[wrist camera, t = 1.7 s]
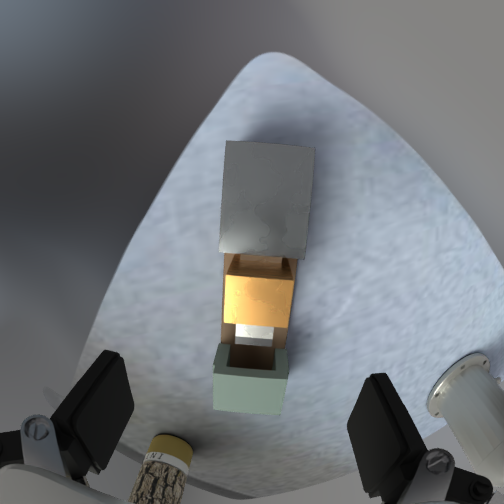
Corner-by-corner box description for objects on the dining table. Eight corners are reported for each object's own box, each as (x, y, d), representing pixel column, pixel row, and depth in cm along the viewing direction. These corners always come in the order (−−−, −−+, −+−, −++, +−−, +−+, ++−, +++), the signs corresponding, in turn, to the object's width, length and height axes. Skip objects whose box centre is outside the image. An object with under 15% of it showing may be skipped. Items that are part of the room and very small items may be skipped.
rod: (294, 166, 23) (306, 160, 16) (277, 329, 26) (279, 373, 20) (242, 162, 23) (233, 154, 16) (232, 325, 27) (222, 368, 20)
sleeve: (305, 154, 23) (315, 148, 18) (297, 244, 25) (304, 259, 20) (233, 148, 23) (226, 140, 18) (227, 238, 25) (218, 252, 20)
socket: (286, 348, 27) (289, 379, 22) (280, 384, 29) (282, 415, 24) (219, 343, 28) (210, 372, 23) (218, 378, 29) (211, 409, 24)
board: (305, 156, 24) (307, 154, 23) (278, 377, 30) (278, 383, 29) (232, 149, 24) (231, 148, 23) (221, 372, 30) (220, 378, 29)
